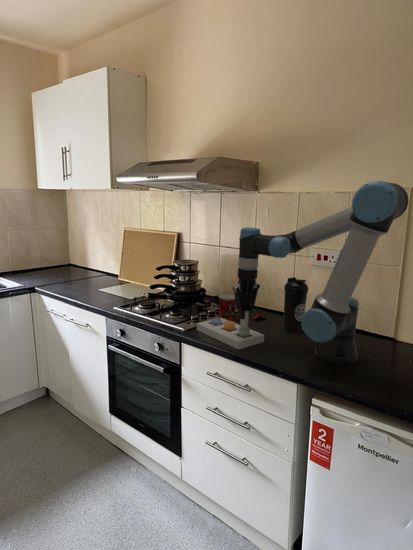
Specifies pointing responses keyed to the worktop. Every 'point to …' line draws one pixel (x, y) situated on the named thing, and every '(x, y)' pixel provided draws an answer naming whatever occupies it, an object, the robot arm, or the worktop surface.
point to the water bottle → (294, 304)
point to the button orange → (229, 326)
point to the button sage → (244, 332)
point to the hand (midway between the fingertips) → (244, 326)
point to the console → (230, 334)
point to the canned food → (227, 307)
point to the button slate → (216, 321)
